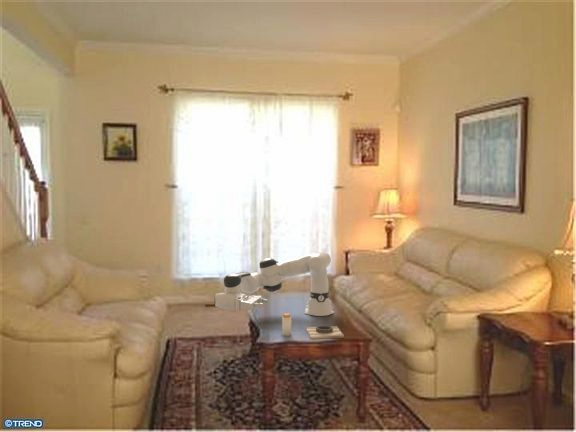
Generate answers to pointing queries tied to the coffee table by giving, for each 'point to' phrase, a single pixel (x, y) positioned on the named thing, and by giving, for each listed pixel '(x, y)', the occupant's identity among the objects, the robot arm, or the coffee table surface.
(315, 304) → the robot arm
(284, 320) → the bottle
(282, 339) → the coffee table surface
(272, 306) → the coffee table surface
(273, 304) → the coffee table surface
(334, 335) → the board
